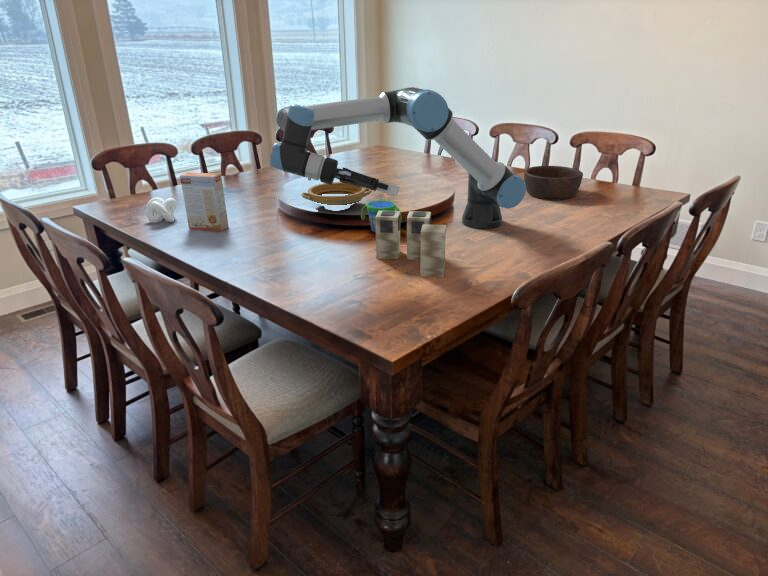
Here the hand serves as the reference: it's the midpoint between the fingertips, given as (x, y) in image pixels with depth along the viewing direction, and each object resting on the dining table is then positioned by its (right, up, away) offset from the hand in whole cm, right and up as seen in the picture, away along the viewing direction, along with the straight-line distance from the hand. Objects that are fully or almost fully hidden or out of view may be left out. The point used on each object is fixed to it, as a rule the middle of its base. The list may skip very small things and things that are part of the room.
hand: (398, 191), depth 166 cm
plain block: (+11, -24, +4) cm, 27 cm away
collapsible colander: (-24, +5, +68) cm, 72 cm away
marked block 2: (-3, -18, +17) cm, 25 cm away
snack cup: (-5, -8, +40) cm, 41 cm away
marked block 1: (+7, -18, +16) cm, 25 cm away
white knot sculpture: (-92, -2, +56) cm, 107 cm away
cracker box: (-71, -6, +45) cm, 85 cm away
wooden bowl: (+70, +13, +81) cm, 108 cm away
